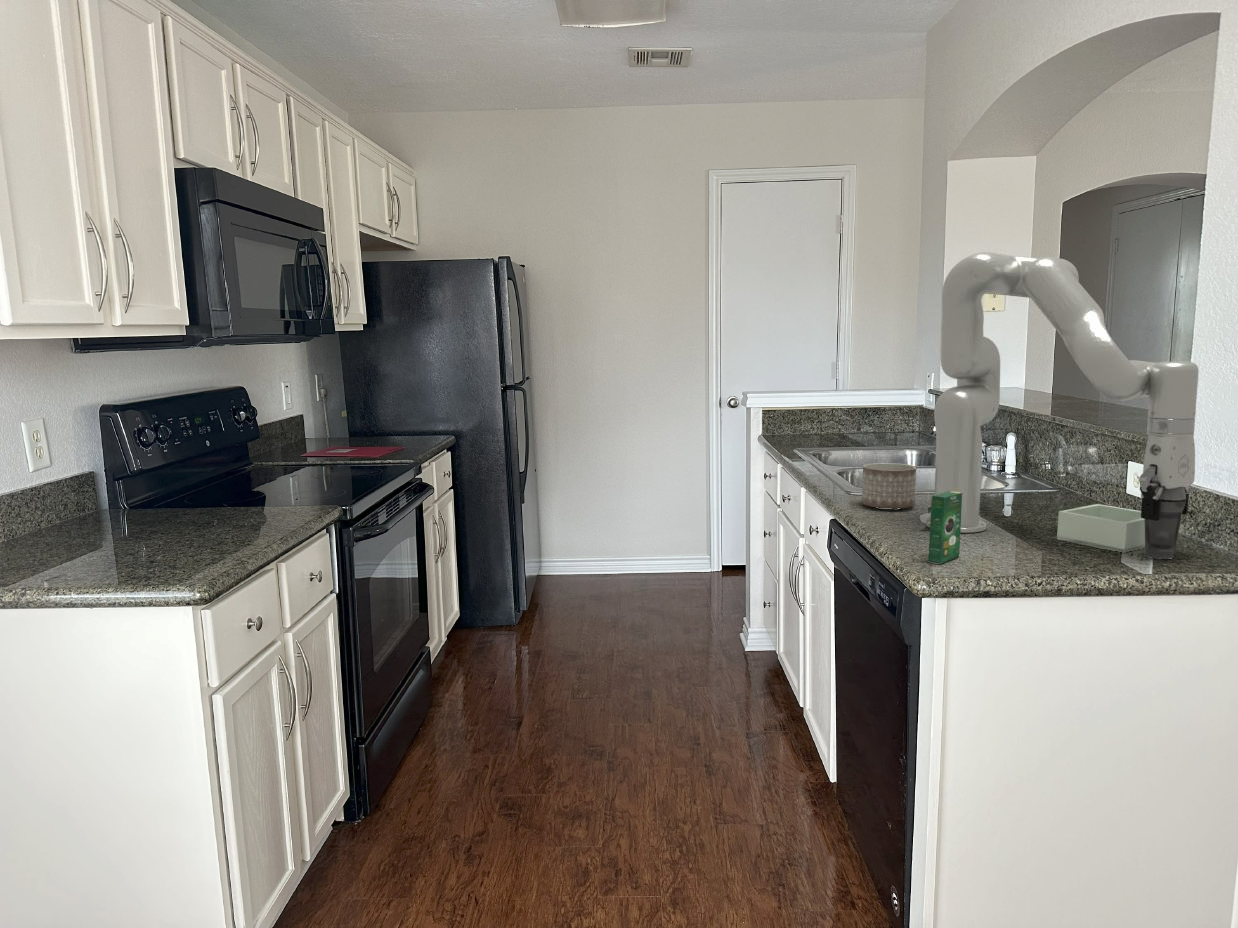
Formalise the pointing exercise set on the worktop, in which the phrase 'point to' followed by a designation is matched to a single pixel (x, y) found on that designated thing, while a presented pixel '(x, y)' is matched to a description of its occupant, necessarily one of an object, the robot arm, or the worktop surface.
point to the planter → (889, 485)
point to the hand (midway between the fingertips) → (1164, 516)
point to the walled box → (1103, 527)
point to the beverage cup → (1165, 524)
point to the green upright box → (945, 527)
